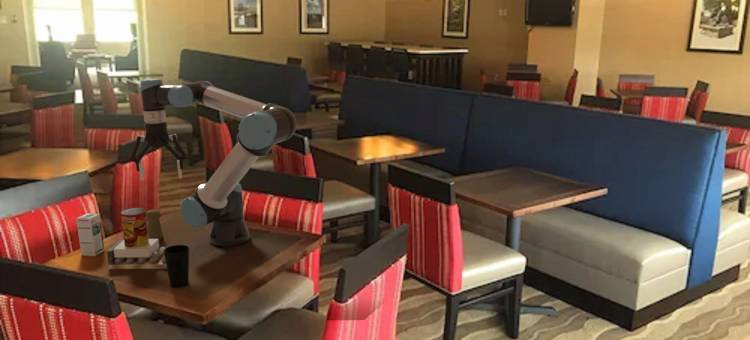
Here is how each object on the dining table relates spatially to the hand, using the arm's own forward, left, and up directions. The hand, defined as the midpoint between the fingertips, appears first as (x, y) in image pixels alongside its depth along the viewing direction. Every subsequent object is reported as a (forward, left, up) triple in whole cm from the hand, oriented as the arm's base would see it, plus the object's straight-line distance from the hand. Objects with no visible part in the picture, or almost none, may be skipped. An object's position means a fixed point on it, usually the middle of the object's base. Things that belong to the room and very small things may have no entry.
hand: (161, 178), depth 227 cm
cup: (-16, +37, -26) cm, 48 cm away
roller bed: (+1, +18, -26) cm, 31 cm away
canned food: (+4, +18, -19) cm, 27 cm away
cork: (+7, -8, -26) cm, 28 cm away
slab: (+4, +18, -22) cm, 29 cm away
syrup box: (+24, +9, -26) cm, 37 cm away
